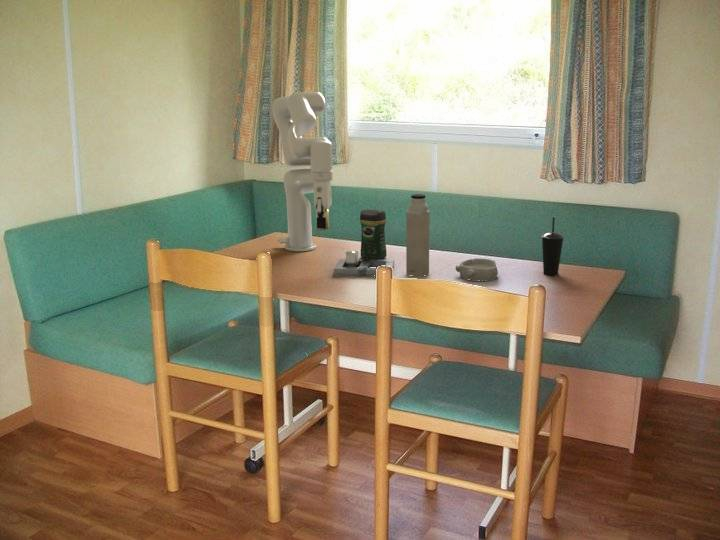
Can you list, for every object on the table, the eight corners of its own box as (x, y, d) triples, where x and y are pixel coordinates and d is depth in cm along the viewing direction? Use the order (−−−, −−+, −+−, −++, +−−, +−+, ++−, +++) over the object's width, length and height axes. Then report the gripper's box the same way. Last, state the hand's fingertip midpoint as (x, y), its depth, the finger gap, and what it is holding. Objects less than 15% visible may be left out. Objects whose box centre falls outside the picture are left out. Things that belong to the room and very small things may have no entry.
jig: (333, 275, 270) (333, 268, 269) (340, 265, 284) (339, 258, 283) (390, 277, 268) (390, 270, 267) (394, 266, 281) (394, 259, 280)
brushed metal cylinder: (345, 272, 274) (344, 253, 272) (347, 269, 279) (346, 250, 277) (357, 272, 274) (357, 253, 272) (359, 269, 278) (358, 250, 276)
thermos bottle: (401, 273, 271) (401, 195, 264) (416, 269, 277) (417, 192, 269) (418, 278, 266) (419, 197, 258) (433, 273, 271) (434, 194, 264)
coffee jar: (389, 257, 294) (389, 209, 289) (379, 261, 288) (378, 212, 283) (368, 254, 299) (367, 206, 294) (357, 258, 293) (356, 210, 288)
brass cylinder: (315, 229, 274) (315, 210, 272) (317, 226, 278) (317, 207, 276) (327, 230, 274) (327, 210, 272) (329, 227, 278) (329, 208, 276)
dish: (490, 270, 275) (490, 256, 273) (505, 280, 262) (506, 266, 260) (451, 273, 272) (451, 259, 270) (465, 284, 259) (465, 269, 257)
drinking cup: (549, 278, 263) (552, 220, 258) (534, 273, 270) (537, 216, 264) (566, 275, 267) (570, 218, 261) (551, 270, 273) (554, 214, 268)
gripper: (328, 180, 262) (329, 232, 267) (336, 172, 278) (336, 221, 283) (306, 180, 263) (307, 232, 268) (315, 171, 279) (316, 221, 284)
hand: (322, 226), depth 276 cm, fingers closed on brass cylinder, 4 cm apart
